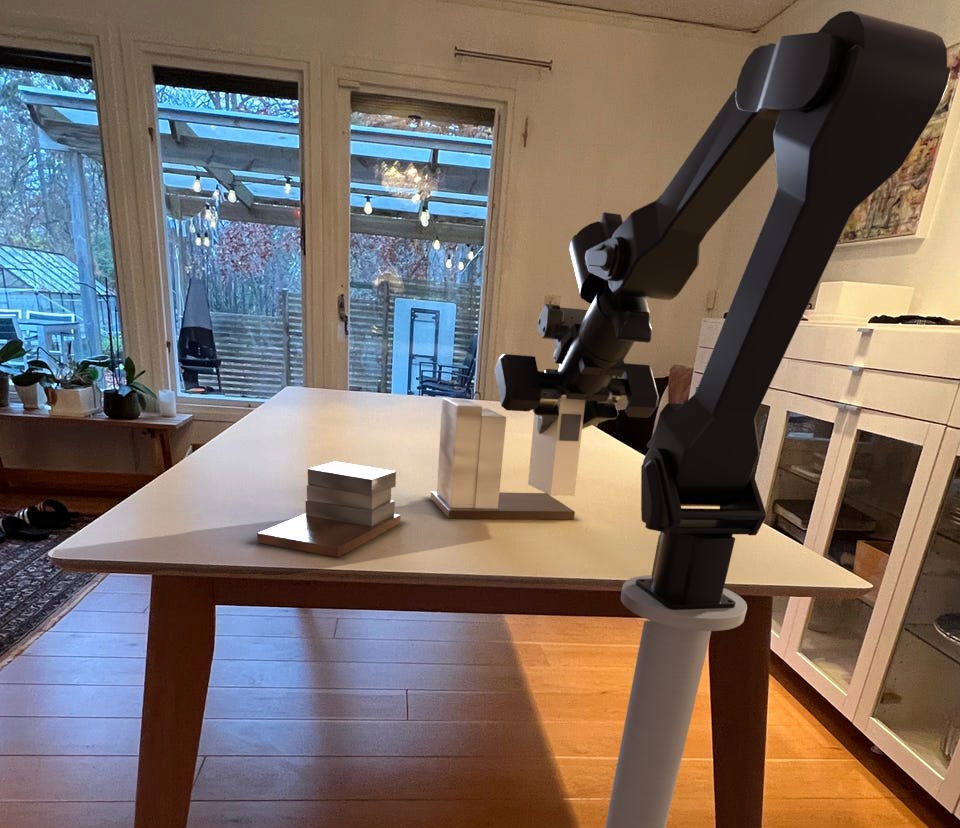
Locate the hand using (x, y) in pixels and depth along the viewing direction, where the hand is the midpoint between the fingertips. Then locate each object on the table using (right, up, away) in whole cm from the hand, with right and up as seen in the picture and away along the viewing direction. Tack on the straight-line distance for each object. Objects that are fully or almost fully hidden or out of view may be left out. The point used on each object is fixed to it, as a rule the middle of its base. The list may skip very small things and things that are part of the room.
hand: (552, 431), depth 89 cm
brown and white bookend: (-6, -9, +4) cm, 12 cm away
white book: (0, -7, +1) cm, 7 cm away
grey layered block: (-25, -14, -12) cm, 31 cm away
